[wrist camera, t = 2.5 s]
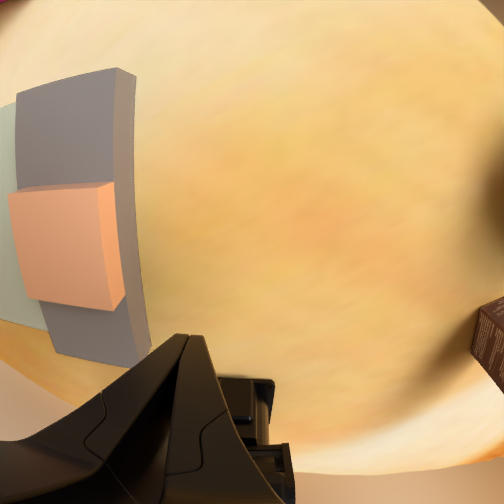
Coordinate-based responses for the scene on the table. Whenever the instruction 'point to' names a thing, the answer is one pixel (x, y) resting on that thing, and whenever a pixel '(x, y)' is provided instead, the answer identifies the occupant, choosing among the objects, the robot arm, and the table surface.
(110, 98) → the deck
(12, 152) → the mat
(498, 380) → the box
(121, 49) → the table surface
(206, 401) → the robot arm
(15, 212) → the coaster
